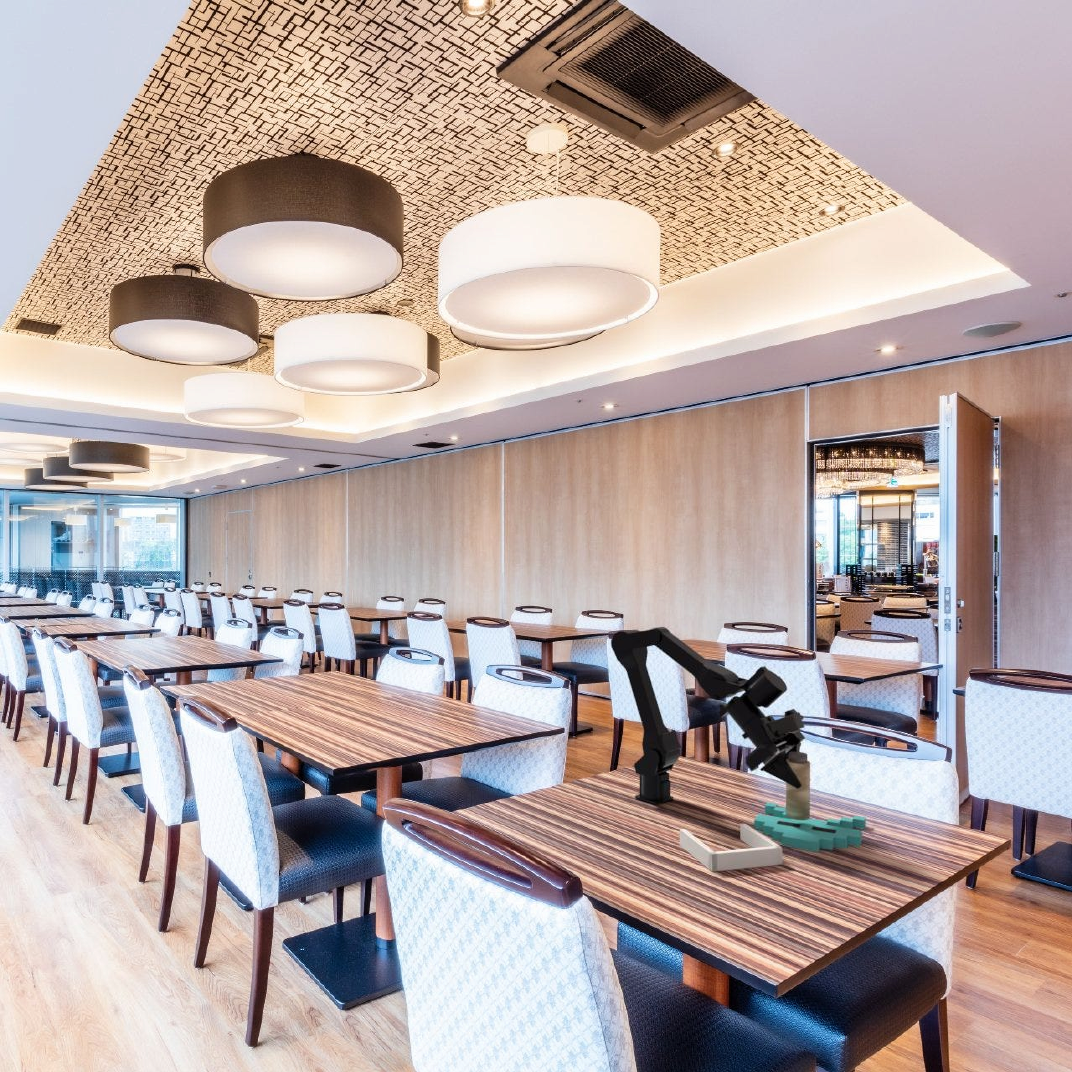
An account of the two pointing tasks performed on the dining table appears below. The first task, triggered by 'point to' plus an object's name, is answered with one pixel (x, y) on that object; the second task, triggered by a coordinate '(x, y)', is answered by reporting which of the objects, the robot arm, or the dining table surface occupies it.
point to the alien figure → (809, 830)
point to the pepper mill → (799, 797)
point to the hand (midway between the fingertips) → (804, 784)
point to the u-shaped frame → (735, 851)
